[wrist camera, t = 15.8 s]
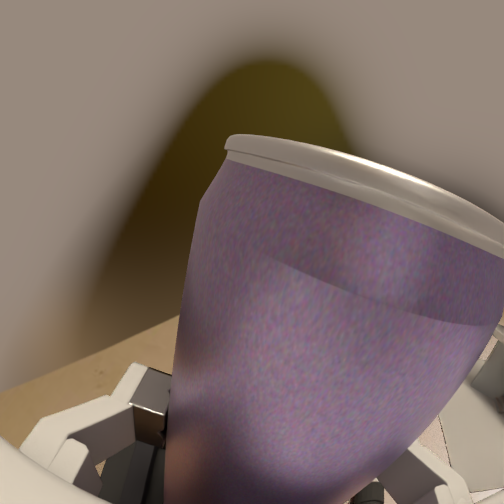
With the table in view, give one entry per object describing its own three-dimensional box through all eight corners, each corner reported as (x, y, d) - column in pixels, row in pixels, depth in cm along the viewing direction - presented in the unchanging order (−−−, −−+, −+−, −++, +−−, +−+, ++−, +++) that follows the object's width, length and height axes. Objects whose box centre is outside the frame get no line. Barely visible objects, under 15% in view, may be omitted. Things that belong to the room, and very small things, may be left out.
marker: (354, 391, 23) (363, 376, 23) (372, 396, 23) (382, 381, 22) (343, 539, 9) (360, 530, 8) (370, 540, 9) (389, 531, 8)
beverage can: (273, 568, 6) (588, 278, 2) (145, 532, 7) (134, 105, 2) (290, 480, 12) (442, 211, 7) (186, 450, 13) (254, 148, 8)
